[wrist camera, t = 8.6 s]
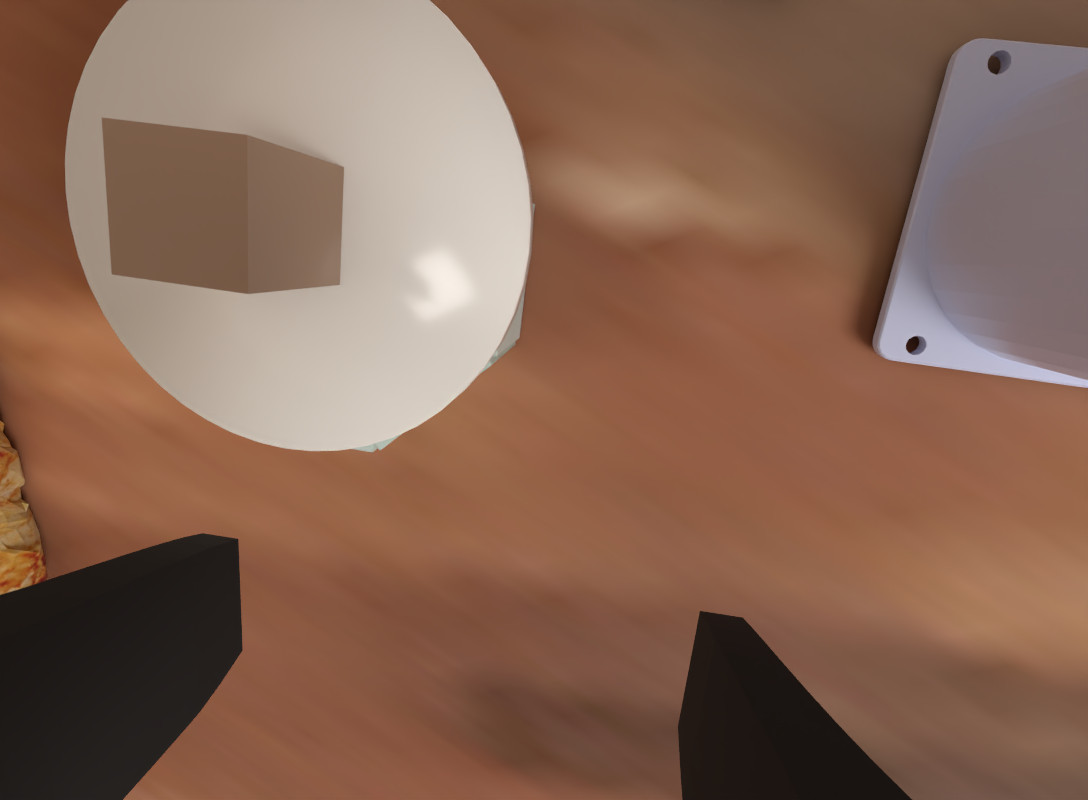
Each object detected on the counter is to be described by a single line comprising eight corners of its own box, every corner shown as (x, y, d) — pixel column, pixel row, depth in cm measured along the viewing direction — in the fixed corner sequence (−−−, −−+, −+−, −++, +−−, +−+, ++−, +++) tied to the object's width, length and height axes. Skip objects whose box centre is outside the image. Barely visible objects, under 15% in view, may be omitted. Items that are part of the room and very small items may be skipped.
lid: (563, -20, 12) (536, -164, 8) (505, 472, 15) (463, 554, 11) (77, -64, 13) (-173, -214, 9) (109, 407, 16) (-69, 459, 12)
